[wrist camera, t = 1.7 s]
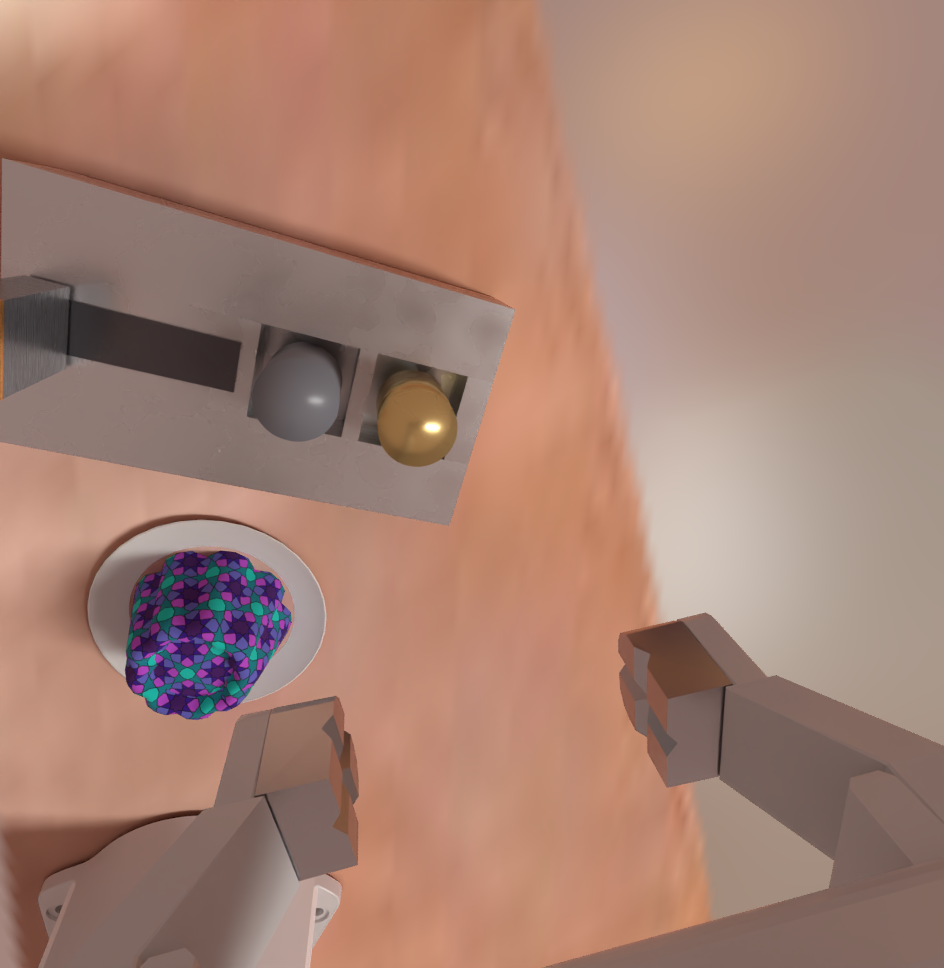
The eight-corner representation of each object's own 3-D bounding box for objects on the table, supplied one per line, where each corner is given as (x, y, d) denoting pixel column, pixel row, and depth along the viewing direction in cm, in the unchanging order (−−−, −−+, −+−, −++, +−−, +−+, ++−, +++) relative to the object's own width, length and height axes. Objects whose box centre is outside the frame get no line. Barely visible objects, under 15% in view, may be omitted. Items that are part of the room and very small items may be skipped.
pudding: (215, 729, 36) (192, 806, 31) (40, 605, 31) (-19, 674, 26) (370, 616, 34) (372, 679, 30) (214, 468, 29) (186, 515, 25)
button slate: (334, 421, 25) (330, 449, 22) (261, 404, 24) (245, 431, 21) (349, 352, 24) (346, 371, 21) (273, 333, 23) (259, 350, 20)
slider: (66, 368, 22) (-12, 406, 17) (22, 359, 21) (-69, 394, 17) (69, 286, 21) (-12, 303, 16) (24, 275, 20) (-72, 289, 16)
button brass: (436, 444, 26) (445, 473, 23) (369, 428, 26) (369, 457, 22) (454, 379, 25) (466, 401, 22) (385, 361, 25) (388, 382, 21)
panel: (438, 486, 31) (449, 526, 27) (55, 408, 27) (-2, 442, 23) (493, 297, 28) (516, 309, 24) (65, 169, 23) (0, 157, 19)
